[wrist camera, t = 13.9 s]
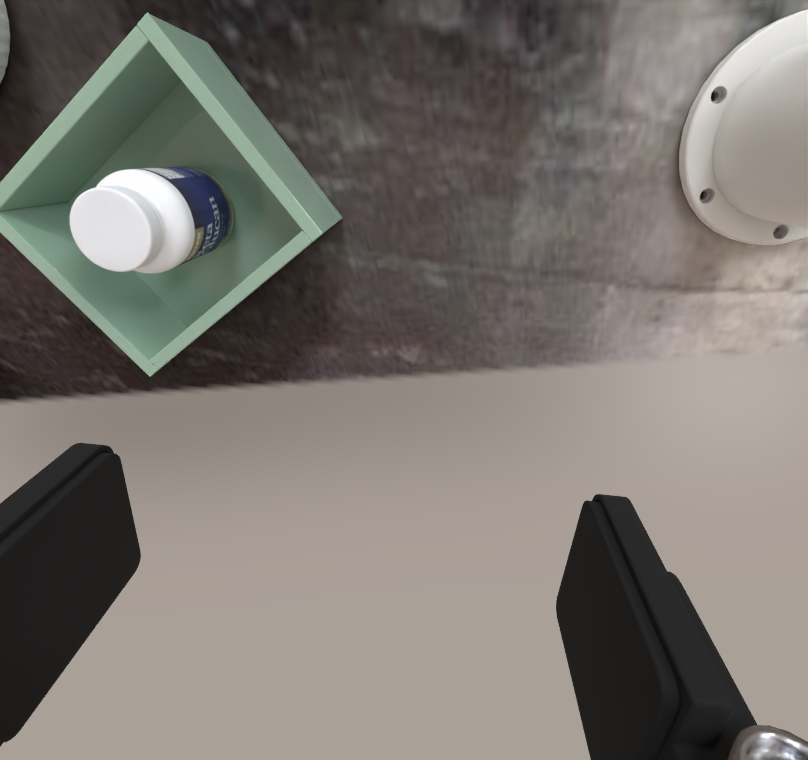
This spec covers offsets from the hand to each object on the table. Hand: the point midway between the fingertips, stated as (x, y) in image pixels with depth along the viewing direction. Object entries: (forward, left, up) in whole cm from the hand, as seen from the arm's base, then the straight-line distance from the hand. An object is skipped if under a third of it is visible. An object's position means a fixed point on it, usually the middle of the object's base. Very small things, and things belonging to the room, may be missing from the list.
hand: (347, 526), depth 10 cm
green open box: (+9, -11, -27) cm, 31 cm away
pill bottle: (+9, -11, -26) cm, 30 cm away
